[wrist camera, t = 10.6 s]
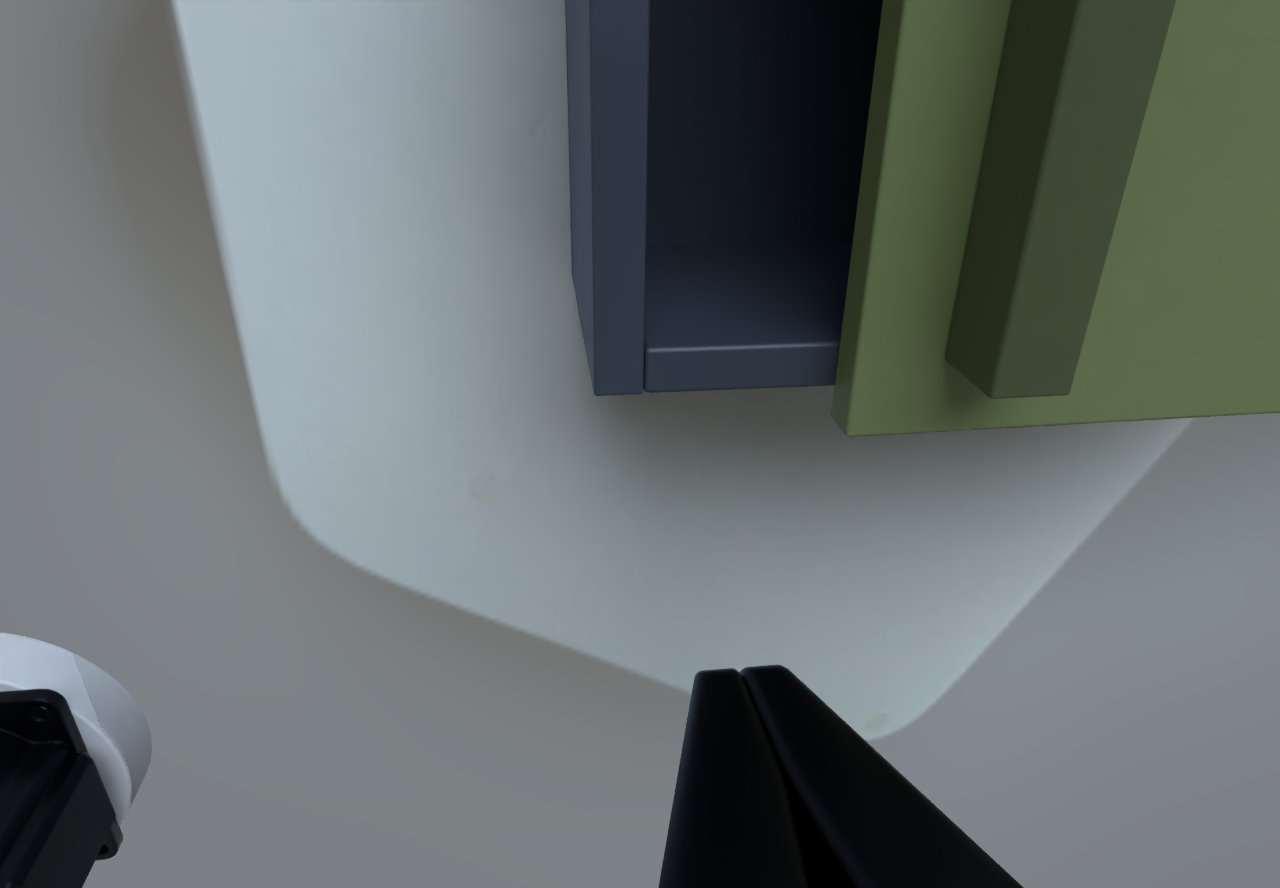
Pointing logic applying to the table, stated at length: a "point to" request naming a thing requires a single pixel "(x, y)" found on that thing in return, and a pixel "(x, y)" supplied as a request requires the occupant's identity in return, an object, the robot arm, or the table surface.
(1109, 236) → the bin lid
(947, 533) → the table surface
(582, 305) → the bin
